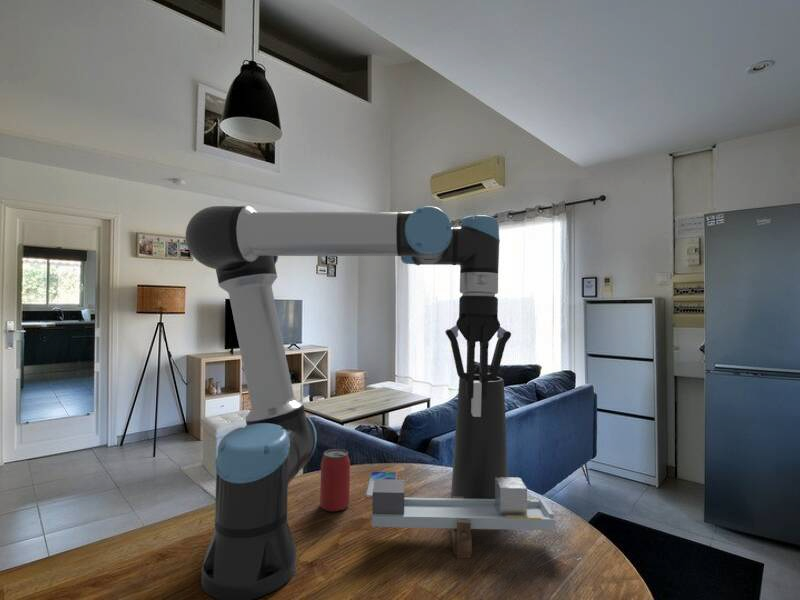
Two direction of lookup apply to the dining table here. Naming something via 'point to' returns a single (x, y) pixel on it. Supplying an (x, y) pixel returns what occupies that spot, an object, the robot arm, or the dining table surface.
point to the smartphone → (378, 476)
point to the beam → (450, 511)
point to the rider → (510, 496)
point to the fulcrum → (462, 537)
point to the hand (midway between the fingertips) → (475, 414)
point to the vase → (480, 443)
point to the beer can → (335, 480)
